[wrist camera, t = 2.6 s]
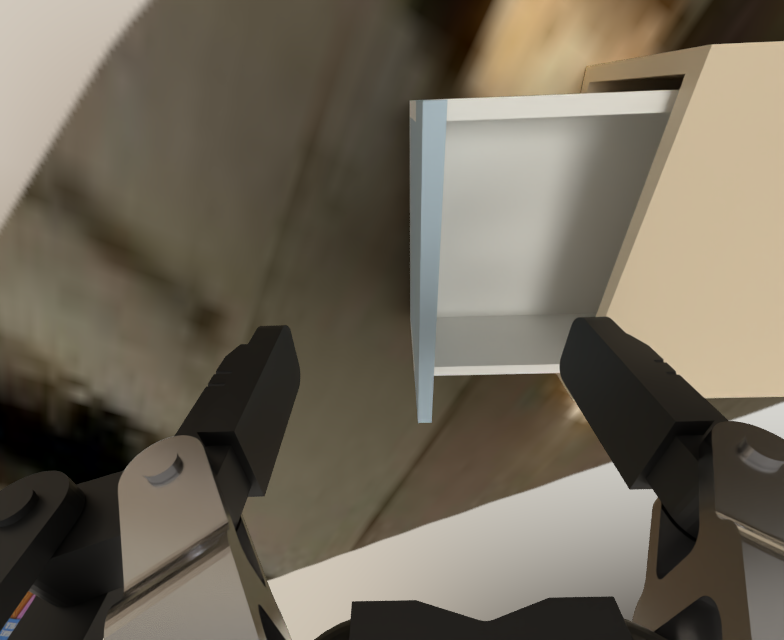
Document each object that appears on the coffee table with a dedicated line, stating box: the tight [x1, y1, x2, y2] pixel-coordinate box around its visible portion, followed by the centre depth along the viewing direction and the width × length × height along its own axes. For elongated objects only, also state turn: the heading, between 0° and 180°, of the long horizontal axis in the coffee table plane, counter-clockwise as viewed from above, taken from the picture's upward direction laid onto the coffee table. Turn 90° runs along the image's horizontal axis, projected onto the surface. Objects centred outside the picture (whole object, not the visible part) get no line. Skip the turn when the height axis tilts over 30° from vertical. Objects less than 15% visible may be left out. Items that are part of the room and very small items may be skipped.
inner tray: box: [410, 89, 680, 423], centre depth 14 cm, size 25×12×8 cm, turn 92°
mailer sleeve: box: [556, 41, 784, 401], centre depth 16 cm, size 18×14×7 cm
